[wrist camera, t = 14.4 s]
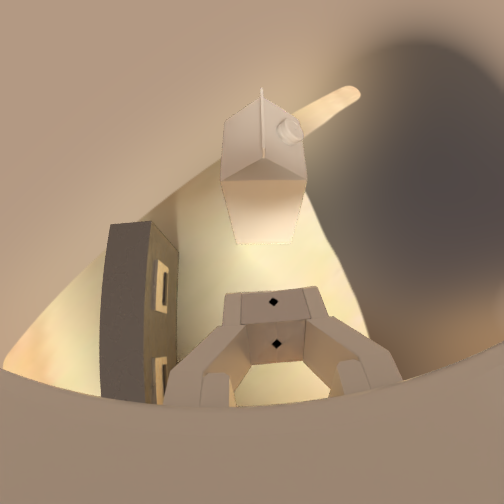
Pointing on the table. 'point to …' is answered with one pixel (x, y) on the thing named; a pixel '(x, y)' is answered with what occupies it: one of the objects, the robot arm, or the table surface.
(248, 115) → the milk carton
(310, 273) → the table surface
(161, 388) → the grey rectangular box
